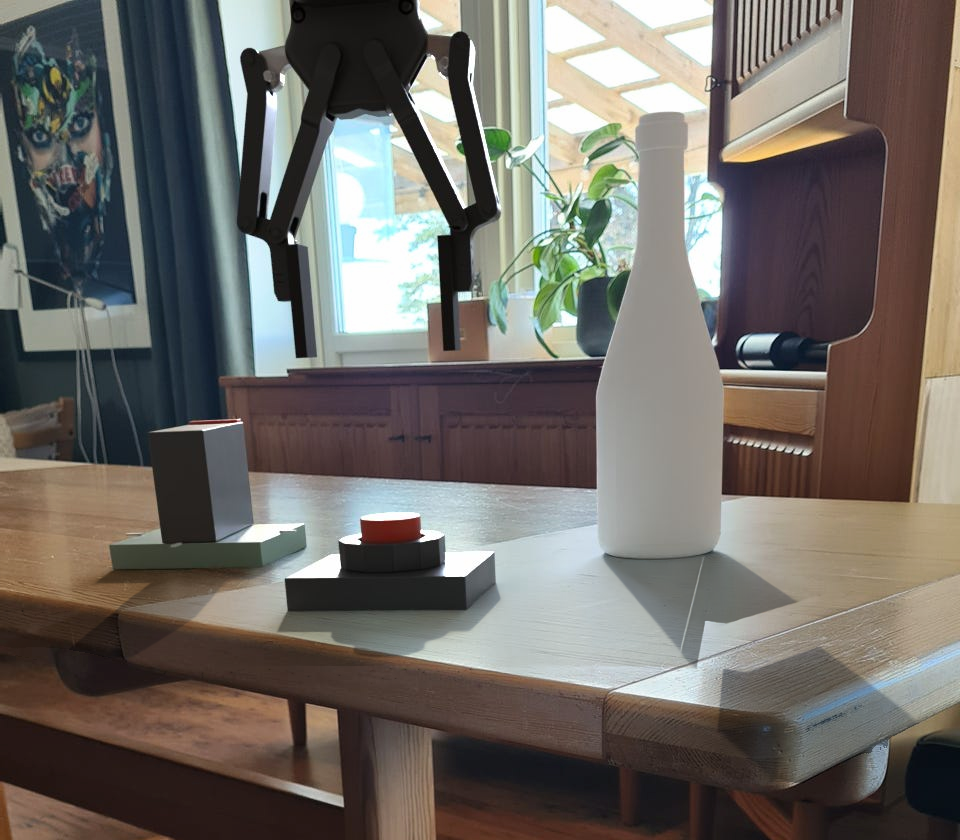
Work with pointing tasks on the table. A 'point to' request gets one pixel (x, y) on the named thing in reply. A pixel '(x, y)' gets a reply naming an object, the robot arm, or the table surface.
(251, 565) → the platform
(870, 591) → the table surface
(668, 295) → the wine bottle
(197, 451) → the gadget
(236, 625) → the table surface
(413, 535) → the button
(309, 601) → the switch box
